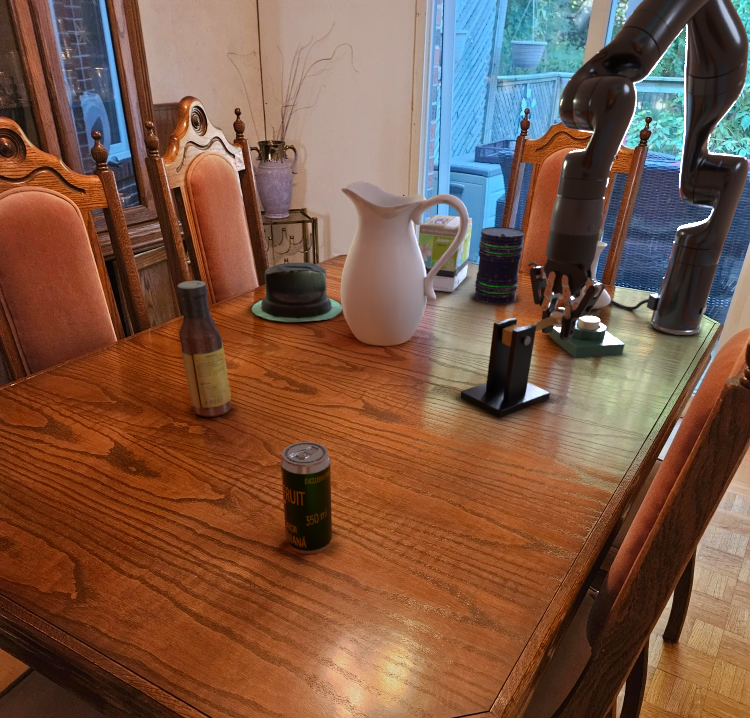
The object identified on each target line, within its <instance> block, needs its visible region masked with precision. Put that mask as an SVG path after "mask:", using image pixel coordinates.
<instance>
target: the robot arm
mask: <svg viewBox="0 0 750 718" xmlns="http://www.w3.org/2000/svg"><path fill="white" fill-rule="evenodd" d="M685 27H686V37H685V38H686V39H685V41H686V43H685V44H686V45H685V61H684V63H685V64H684V133H683V145H682V156H681V163H680V173H679V185H678V186H679V187H678V190H679V191H678V192H679V197H680V200H681V202H682V203H684V204H686V205H689V206H692V207H700V208H705V209H712V210H711V213H710V215H709V216H708V218H706V219H704V220H702V221H698V222H693V223H688V224H684V225H681V226H679V227H678V228H677V230H676V232H675V236H674V239H673V243H672V247H671V251H670V255H669V258H668V262H667V267H666V270H665V274H664V277H662V278H661V280H660V284H659V288H658V291H657V293H652V294H649V296H648V298H647V299H643V300H641V301H640V302H638V303H637V304H636V305H635V306H634V305H633V306H628V305H623V304H621V303H618V302H616V301H615V300H613V299H611V302H610V303H609V304H612V305H614V306H616V307H617V308H621V309H624V310H627V311H635V310H637V309H639V308H640V307H641V306H642V305H644V304H646V308H648V309H649V310H651V311H652V315H651V318H650V322H651V326H652V327H653V329H655V330H656V331H659V332H661V333H665V334H669V335H674V336H691V335H692V336H693V335H696V334H698V333H699V332H700V328H701V323H702V319H703V316H704V314H705V313H706V311H707V308H708V305H707V303H708V299H709V296H710V294H711V290H712V286H713V283H714V279H715V276H716V273H717V269H718V266H719V263H720V259H721V257H722V253H723V249H724V247H725V243H726V239H727V236H728V234H729V232H730V229H731V226H732V223H733V220H734V216H735V214H736V210H737V208H738V205H739V202H740V199H741V197H742V194H743V191H744V188H745V185H746V184H747V183H746V182H747V179H748V175H749V169H750V168H749V167H750V166H749V161H748V159H747V157H745V156H742V155H737V154H736V155H734V154H726V153H716V152H715V153H714V152H710V150H709V141H710V137H711V135H712V133H713V132H714V130H715V129H716V127H717V126H718V125H719V123H720V122H721V121H722V120H723V118H724V117H725V116H726V115H727V114H728V112H729V111H730V110H731V109H732V107H733V106H734V104H735V103H736V102H737V101H738V99H739V97H741V94H742V92H743V90H744V87H745V86H746V80H747V72H748V71H747V70H748V62H749V61H748V59H749V48H750V44H749V37H748V34H747V31H746V28H745V25H744V22H743V21H742V19H741V17H740V15H739V13H738V12H737V9H736V8H735V5H734V4H733V2H732V0H642V1H641V2H640V3H639V4H638V5H637V6H636V7H635V9H634V10H633V11H632V13H631V14H630V15H629V16H628V18H627V19H626V21H625V22H624V23H623V25H622V26H621V28H620V29H619V30H618V32H617V33H616V35H615V36H614V37H613V39H612V40H611V41H610V42H609V43H608V44H606V45H605V46H604V47H602V48H601V49H599V50H598V51H597V52H596V53H595V54H594V55H593V56H591V58H589V59H588V60H587V61H586V62H585V63H584V64H583V65H581V66H580V67H579V68H578V70H576V71H575V72H574V73H573V74H572V76H571V77H570V78H569V80H568V81H567V82H566V84H565V86H564V89H563V90H562V93H561V95H560V98H559V103H558V115H559V119H560V121H561V123H562V125H563V126H564V127H566V128H567V129H570V130H572V131H578V132H587V133H592V135H591V136H590V138H589V141H588V142H587V145H586V147H585V148H584V149H578V150H577V149H576V150H573V151H570V152H567V153H566V155H565V156H564V157H563V159H562V162H561V167H560V173H559V179H558V184H557V191H556V197H555V201H554V204H553V208H552V213H551V219H550V225H549V231H548V237H547V244H546V251H545V257H546V258H547V259H546V261H545V262H544V265H540V264H538V263H537V262H535V261H531V262H529V263H528V264H527V267H531V266H534V267H531V268H530V269H529V276H530V283H531V285H530V286H531V291H532V292H531V293H532V297H533V304H534V305H537V306H540V308H541V311H542V314H541V320H542V319H545V318H548V317H550V314H551V312H552V311H553V310H554V309H556V308H557V306H558V303H559V300H560V299H561V298H560V297H561V296H562V295H563V298H562V300H561V302H562V304H563V306H564V307H563V308H564V317H565V318H563V321H562V326H561V332H560V337H559V338H560V339H561V340H563V341H564V340H568V339H570V338H571V337H572V336H573V334H574V330H575V325H576V320H578V319H579V317H583V316H589V314H590V313H591V311H592V310H593V309H592V308H593V306H594V305H595V303H596V301H597V300H598V298H599V297H600V295H601V293H602V292H603V290H604V289H605V288H606V286H605V284H604V283H603V282H598V283H599V284H598V283H597V282H596V281H595V280H593V279H592V278H591V277H592V273H591V264H592V262H593V260H594V258H595V253H596V248H597V243H598V241H599V239H600V238H599V233H600V228H601V227H602V222H603V217H604V211H605V209H604V207H605V199H606V194H607V189H608V184H609V179H610V178H609V177H610V172H611V168H612V166H613V164H614V161H615V159H616V157H617V154H618V152H619V150H620V148H621V145H622V143H623V141H624V138H625V136H626V134H627V132H628V130H629V128H630V125H631V124H632V121H633V119H634V116H635V112H636V109H637V108H636V107H637V100H638V99H637V98H638V97H637V89H636V86H635V84H636V83H640V82H642V81H643V80H645V79H646V78H647V77H648V76H649V75H650V74H651V73H652V71H653V70H654V69H655V68H656V66H657V65H658V63H659V62H660V60H661V59H662V58H663V56H664V55H665V54H666V52H667V51H668V50H669V48H670V47H671V45H672V44H673V43H674V41H675V40H676V39H677V37H678V36H679V35H680V33H681V32H682V31H683V30H684V29H685ZM601 229H602V228H601ZM585 285H586V288H585V290H584V293H585V295H584V296H583V298H582V288H583V287H584V286H585ZM572 295H574V296H573V297H571V296H572ZM553 328H554V326H553V325H551V326H548V327H546V328H543V329H541V333H542V334H544V335H549V333H551V332H552V331H553Z"/></svg>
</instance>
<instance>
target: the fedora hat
mask: <svg viewBox="0 0 750 718" xmlns="http://www.w3.org/2000/svg"><path fill="white" fill-rule="evenodd" d="M327 270H328V269H327V268H325V267H322V266H320V265H318V264H315V263H311V262H299V261H298V262H285V263H279V264H274V265H272V266H270V267H268V268H267V269H266V270H265V271H264V273H263V275H264V285H265V286H264V287H265V296H264V297H263V298H262V299H261V300H259V301H257V302H256V303H254V304H253V305H252V307H251V312H252V313H253V314H254V315H255V316H257V317H261V318H262V319H266V320H269V321H277V322H282V323H283V322H284V323H300V322H313V321H314V322H315V321H325V320H331V319H334V318H335V317H337V316H338V315H340V314H341V313H342V312H343V310H342V304H341V303H339V302H338V301H337V300H335V299H332V298H330V297H329V296H328V295H327V287H328V286H327Z"/></svg>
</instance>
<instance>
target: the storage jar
mask: <svg viewBox="0 0 750 718" xmlns="http://www.w3.org/2000/svg"><path fill="white" fill-rule="evenodd" d="M480 235H481V236H480V241H479V246H478V248H479V249H478V257H479V259H478V268H477V273H476V278H475V279H476V280H475V284H474V286H475V289H474V291H475V293H474V299H475V300H476V301H478V302H480V303H484V304H489V305H509V304H512V303H514V302H515V301H516V298H517V297H516V294H517V291H518V288H519V268H520V261H521V259H522V256H523V250H524V238H525V231H524V230H522V229H518V228H514V227H506V226H490V227H488V226H487V227H484V228H482V229H481V231H480Z"/></svg>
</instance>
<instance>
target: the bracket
mask: <svg viewBox="0 0 750 718" xmlns="http://www.w3.org/2000/svg"><path fill="white" fill-rule="evenodd" d="M517 323H518V319H517V318H515V317H509V318H507V319H502V320H499V321H496V322H493V325H492V326H493V327H492V334H491V341H490V342H491V343H490V351H489V352H490V353H489V360H488V366H487V367H488V368H487V376H486V382H485V383H481V384H479V385H476V386H473V387H470V388H466V389H464V390H461V391H460V395H459V396H460V397H459V399H460V400H462V401H465V402H467V403H469V404H471V405H472V406H474V407H476V408H477V409H480V410H482V411H484V412H486V413H488V414H490V415H492V416H494V417H495V418H497V419H501V418H504V417H506V416H510V415H512V414H514V413H517V412H519V411H522V410H524V409H527V408H530V407H533V406H535V405H538V404H541V403H543V402H546V401H548V400H550V396H551V392H550V391H548V390H546V389H543V388H541V387H539V386H536V385H534V384H532V383H529V382H528V381H529V376H530V368H531V363H532V357H533V350H534V344H535V338H536V333H537V331H536V326H534V325H530V324H528V325H529V326H527V325H524V326H525V327H524V326H521V327H522V328H518V329H515V330H513V331H512V338H511V345H510V346H508V345H506V344H503V343H502V334H503V329H504V328H506V327H509V326H512V325H514V324H516V325H518V324H517Z"/></svg>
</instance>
